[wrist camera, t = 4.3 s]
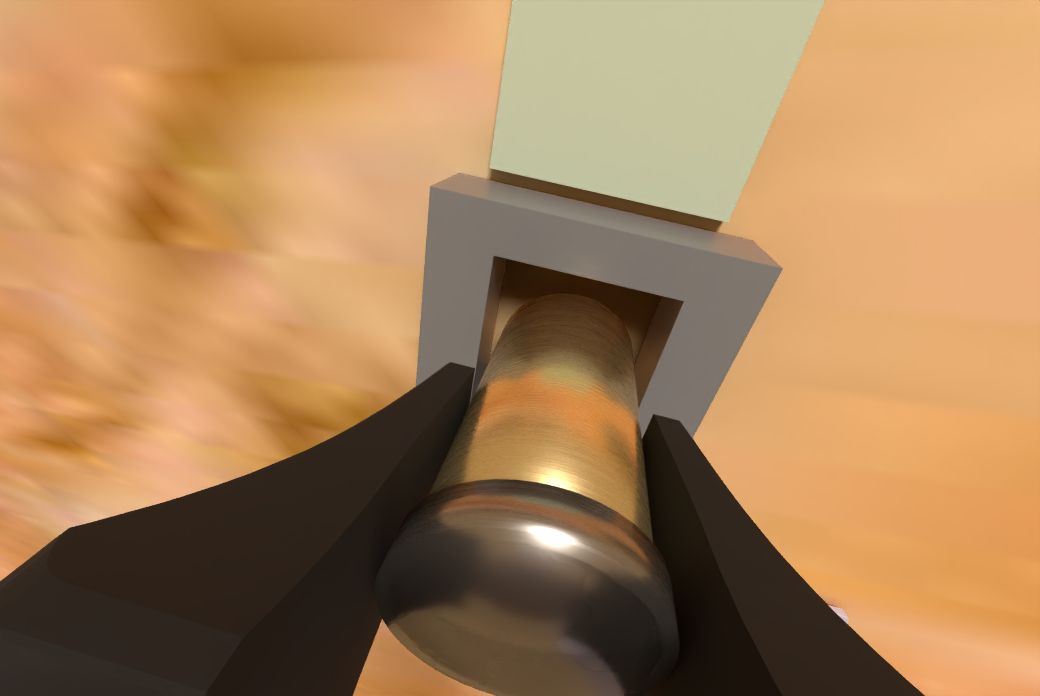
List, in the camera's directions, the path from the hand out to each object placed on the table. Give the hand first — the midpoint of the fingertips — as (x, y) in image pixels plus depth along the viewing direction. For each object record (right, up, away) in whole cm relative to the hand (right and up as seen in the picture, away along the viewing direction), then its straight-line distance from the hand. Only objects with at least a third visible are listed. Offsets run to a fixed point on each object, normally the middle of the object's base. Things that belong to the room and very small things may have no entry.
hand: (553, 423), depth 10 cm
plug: (+1, +2, +3) cm, 3 cm away
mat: (+2, +9, +1) cm, 9 cm away
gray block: (+1, +3, +5) cm, 5 cm away
